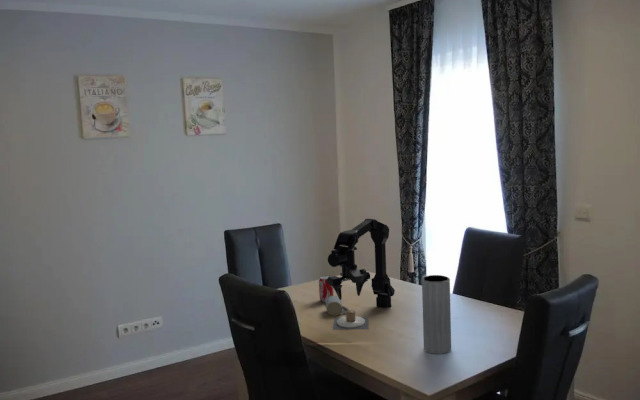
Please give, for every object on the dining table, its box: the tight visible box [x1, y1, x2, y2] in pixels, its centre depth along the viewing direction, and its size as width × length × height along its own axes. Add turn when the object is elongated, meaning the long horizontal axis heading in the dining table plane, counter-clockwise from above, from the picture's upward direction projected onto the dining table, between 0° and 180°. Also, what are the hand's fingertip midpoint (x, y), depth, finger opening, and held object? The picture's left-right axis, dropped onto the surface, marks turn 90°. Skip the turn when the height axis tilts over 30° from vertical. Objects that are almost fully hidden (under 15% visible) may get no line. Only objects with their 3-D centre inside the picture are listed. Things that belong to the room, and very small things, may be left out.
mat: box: [332, 316, 370, 331], centre depth 229 cm, size 15×15×1 cm
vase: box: [421, 274, 452, 355], centre depth 198 cm, size 10×10×27 cm
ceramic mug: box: [325, 295, 350, 317], centre depth 244 cm, size 11×8×8 cm
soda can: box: [318, 275, 335, 303], centre depth 264 cm, size 7×7×12 cm
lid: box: [337, 309, 365, 328], centre depth 229 cm, size 12×12×5 cm
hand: (349, 297), depth 228 cm, fingers open, 9 cm apart
